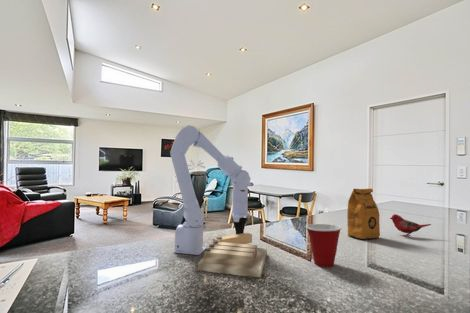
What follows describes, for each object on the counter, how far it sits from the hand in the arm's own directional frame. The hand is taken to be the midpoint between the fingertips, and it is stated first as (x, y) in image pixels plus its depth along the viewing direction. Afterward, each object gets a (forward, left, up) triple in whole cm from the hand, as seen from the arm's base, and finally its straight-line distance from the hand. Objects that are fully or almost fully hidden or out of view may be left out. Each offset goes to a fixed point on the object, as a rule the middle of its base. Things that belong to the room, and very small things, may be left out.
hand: (239, 237), depth 94 cm
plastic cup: (+29, -9, -4) cm, 31 cm away
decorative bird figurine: (+73, +38, -4) cm, 82 cm away
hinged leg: (-1, -6, -1) cm, 6 cm away
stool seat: (+2, -15, -4) cm, 16 cm away
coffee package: (+51, +30, -4) cm, 59 cm away
